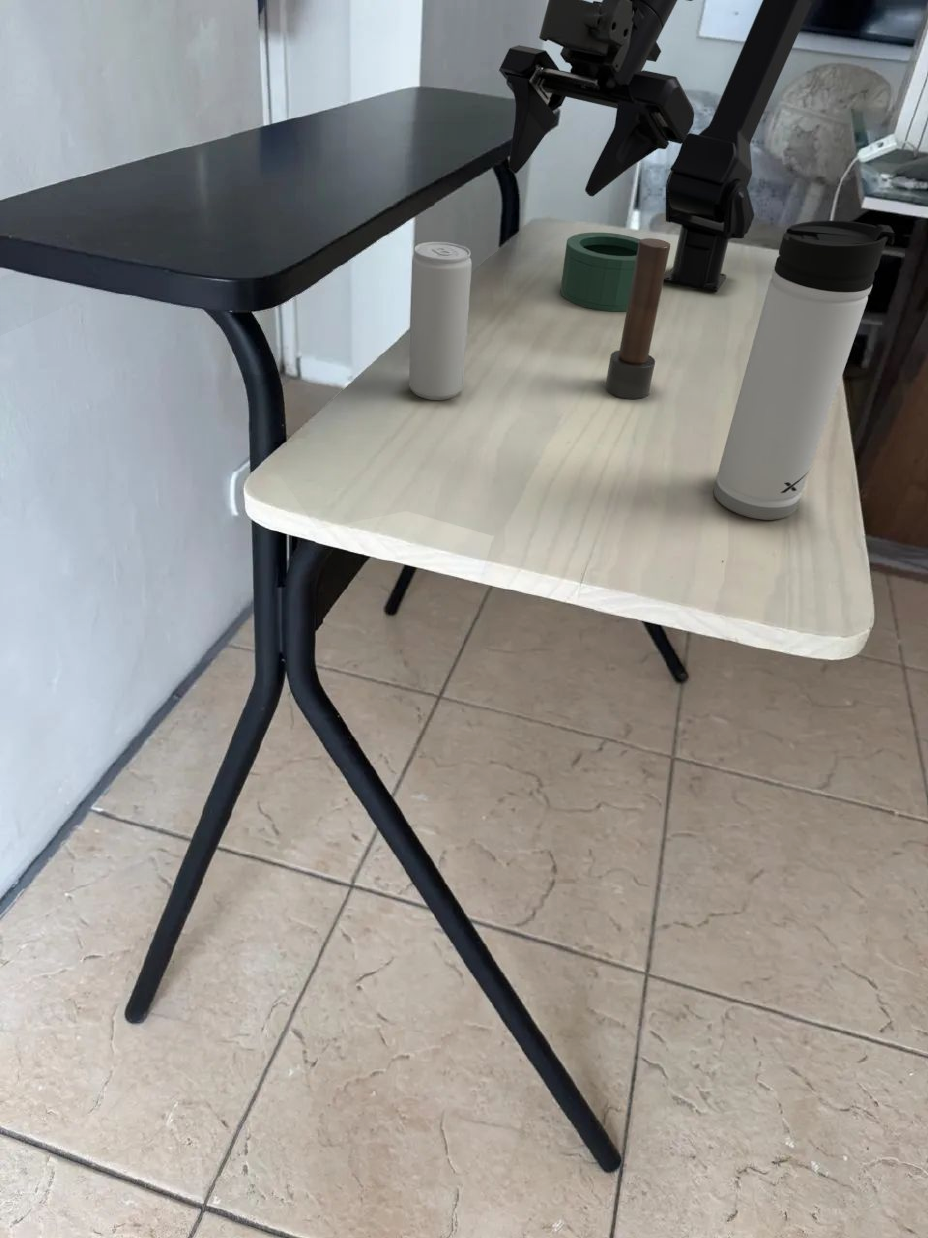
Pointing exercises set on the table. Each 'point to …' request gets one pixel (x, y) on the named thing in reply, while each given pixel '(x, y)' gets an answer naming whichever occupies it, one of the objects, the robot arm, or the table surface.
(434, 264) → the beverage can
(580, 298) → the jar
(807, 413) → the travel mug
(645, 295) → the brush
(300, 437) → the table surface
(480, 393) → the table surface
